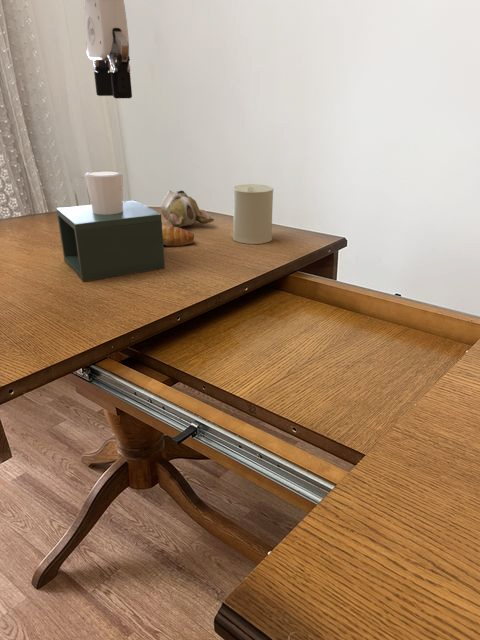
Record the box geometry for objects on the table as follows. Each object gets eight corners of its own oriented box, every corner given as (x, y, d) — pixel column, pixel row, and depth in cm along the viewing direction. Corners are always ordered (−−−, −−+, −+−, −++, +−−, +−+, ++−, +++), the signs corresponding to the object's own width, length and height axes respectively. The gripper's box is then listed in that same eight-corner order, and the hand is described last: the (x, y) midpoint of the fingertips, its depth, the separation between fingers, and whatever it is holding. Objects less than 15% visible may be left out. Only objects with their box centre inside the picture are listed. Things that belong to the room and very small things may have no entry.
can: (228, 242, 123) (228, 188, 118) (237, 232, 132) (237, 181, 126) (268, 245, 122) (270, 190, 117) (275, 234, 130) (276, 183, 125)
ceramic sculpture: (187, 182, 141) (216, 196, 130) (188, 215, 145) (216, 231, 135) (149, 186, 135) (176, 201, 125) (151, 220, 140) (177, 237, 129)
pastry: (196, 239, 126) (195, 222, 124) (192, 247, 120) (192, 230, 118) (155, 238, 126) (154, 222, 124) (150, 247, 120) (148, 230, 118)
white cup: (132, 208, 106) (129, 171, 103) (114, 216, 100) (110, 177, 97) (101, 206, 107) (96, 169, 104) (81, 213, 102) (76, 174, 98)
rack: (83, 281, 99) (75, 224, 95) (64, 260, 110) (56, 208, 105) (164, 268, 107) (161, 214, 102) (139, 249, 118) (135, 200, 113)
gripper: (66, -13, 95) (80, 95, 103) (95, -26, 82) (108, 99, 90) (108, -10, 99) (118, 94, 106) (142, -21, 85) (151, 99, 93)
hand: (113, 96), depth 98 cm, fingers open, 9 cm apart
